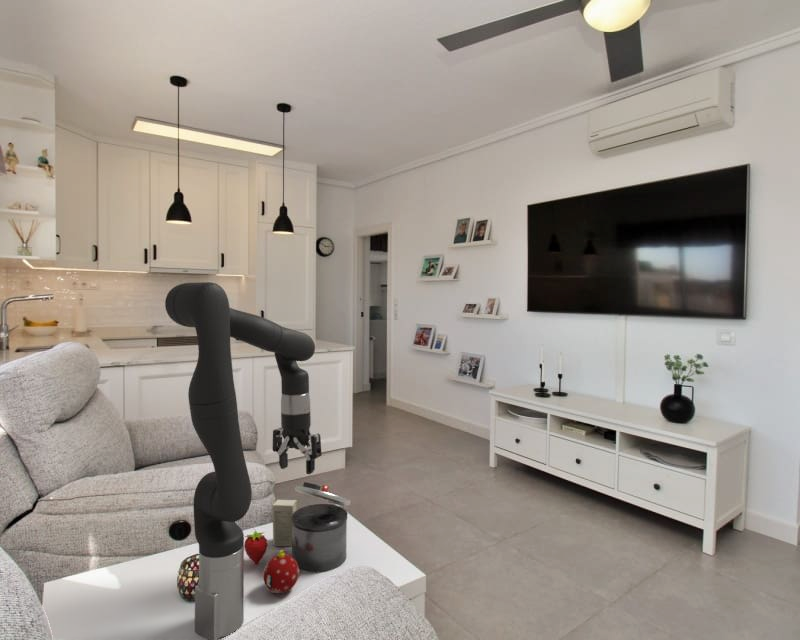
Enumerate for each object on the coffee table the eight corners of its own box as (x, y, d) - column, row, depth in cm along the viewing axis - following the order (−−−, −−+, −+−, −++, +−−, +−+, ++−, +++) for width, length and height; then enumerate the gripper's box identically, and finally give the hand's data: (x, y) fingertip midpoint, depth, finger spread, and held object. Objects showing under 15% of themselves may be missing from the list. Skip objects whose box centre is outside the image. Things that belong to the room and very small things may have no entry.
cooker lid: (331, 498, 124) (335, 485, 126) (283, 487, 131) (287, 475, 133) (360, 509, 137) (363, 497, 139) (315, 499, 145) (318, 487, 146)
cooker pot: (325, 578, 123) (326, 532, 123) (279, 563, 130) (279, 520, 130) (357, 551, 137) (357, 510, 137) (314, 539, 144) (314, 500, 144)
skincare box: (297, 539, 144) (298, 499, 143) (293, 547, 139) (293, 505, 139) (277, 538, 144) (277, 498, 144) (271, 545, 140) (272, 504, 140)
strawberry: (248, 574, 125) (248, 536, 125) (241, 561, 131) (241, 525, 131) (271, 567, 128) (271, 531, 128) (262, 555, 135) (262, 520, 134)
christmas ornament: (306, 587, 119) (306, 548, 119) (280, 605, 112) (280, 563, 112) (281, 576, 124) (281, 538, 124) (255, 593, 117) (255, 553, 116)
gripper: (264, 410, 125) (266, 471, 125) (308, 416, 118) (310, 480, 119) (283, 404, 131) (285, 462, 132) (326, 409, 125) (327, 470, 126)
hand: (296, 470), depth 126 cm, fingers open, 8 cm apart
